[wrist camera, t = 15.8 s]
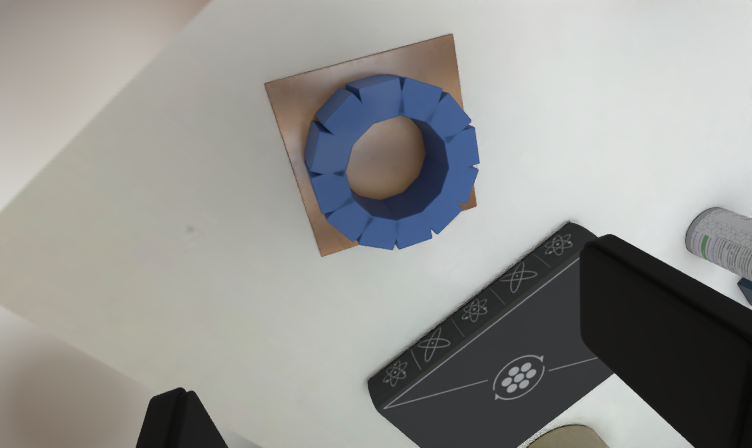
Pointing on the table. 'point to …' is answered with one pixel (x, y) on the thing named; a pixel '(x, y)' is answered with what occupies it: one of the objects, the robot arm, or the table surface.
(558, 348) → the book
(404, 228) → the ring
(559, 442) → the sugar bowl
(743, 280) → the watch
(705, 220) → the container
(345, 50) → the table surface
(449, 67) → the mat
